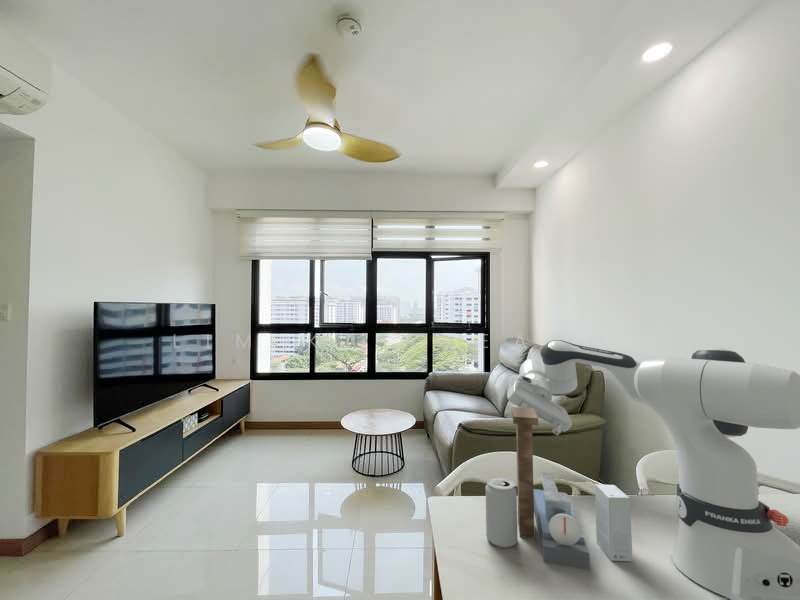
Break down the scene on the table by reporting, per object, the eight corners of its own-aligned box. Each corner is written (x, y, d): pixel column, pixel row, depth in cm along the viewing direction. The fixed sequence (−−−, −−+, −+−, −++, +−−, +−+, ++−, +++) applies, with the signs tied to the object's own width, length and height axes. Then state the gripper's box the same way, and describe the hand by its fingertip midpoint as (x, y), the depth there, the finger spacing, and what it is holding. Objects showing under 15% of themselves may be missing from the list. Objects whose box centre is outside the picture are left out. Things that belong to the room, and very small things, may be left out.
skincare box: (633, 562, 69) (631, 498, 69) (610, 561, 69) (608, 497, 70) (616, 542, 75) (614, 484, 75) (595, 541, 75) (593, 483, 76)
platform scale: (566, 509, 88) (566, 472, 88) (589, 569, 67) (588, 521, 67) (532, 505, 90) (531, 469, 90) (544, 562, 69) (543, 515, 69)
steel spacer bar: (556, 483, 93) (556, 467, 93) (571, 522, 75) (570, 502, 76) (536, 481, 94) (536, 465, 95) (546, 518, 77) (545, 499, 77)
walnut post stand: (536, 522, 82) (533, 408, 84) (540, 546, 74) (538, 418, 75) (513, 519, 84) (511, 406, 85) (515, 542, 75) (513, 416, 76)
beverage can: (519, 552, 72) (518, 490, 72) (486, 548, 73) (485, 487, 74) (515, 533, 78) (514, 477, 79) (485, 530, 79) (484, 474, 80)
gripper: (558, 416, 116) (567, 449, 103) (503, 385, 116) (505, 415, 103) (571, 403, 113) (581, 435, 101) (514, 372, 113) (518, 400, 100)
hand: (542, 425), depth 102 cm, fingers open, 8 cm apart
